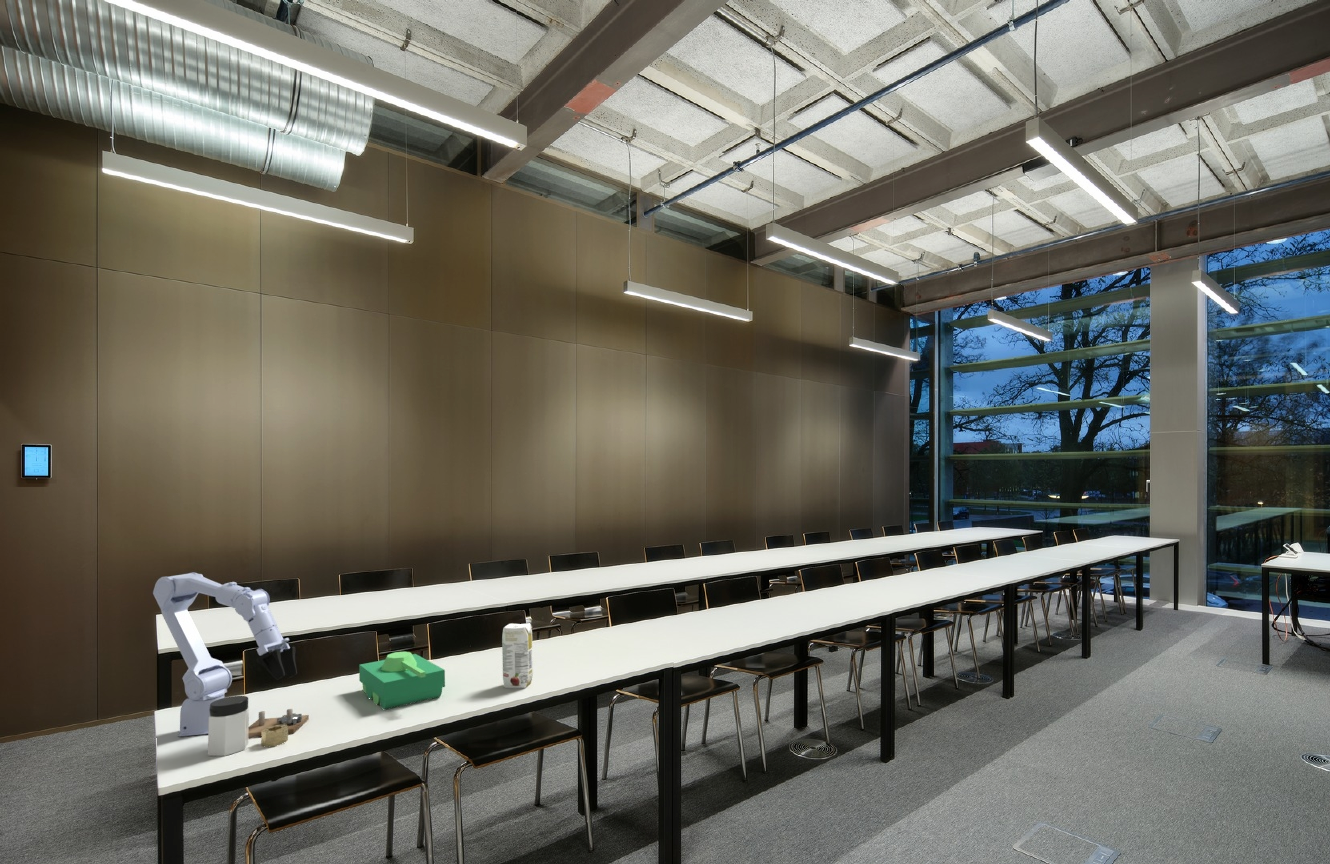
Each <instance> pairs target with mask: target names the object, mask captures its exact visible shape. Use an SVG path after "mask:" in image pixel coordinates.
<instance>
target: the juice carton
mask: <svg viewBox="0 0 1330 864" xmlns="http://www.w3.org/2000/svg"><path fill="white" fill-rule="evenodd" d="M501 643H502V647H501V648H502V651H501V652H502V655H501V656H502V682H503V687H504V689H526V688H527V687H528V686H529V685H531V683H532V681H533V674H534V671H533V670H534V667H533V665H534V663H533V662H534V661H533V659H534V658H533V630H532V624H531V623H530V622H529V623H528V622H527V623H521V624H520V623H508V624H507V625H505V626H504V627H503V629H502V637H501Z"/></svg>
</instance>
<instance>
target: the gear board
mask: <svg viewBox="0 0 1330 864" xmlns="http://www.w3.org/2000/svg"><path fill="white" fill-rule="evenodd" d="M293 711H294V710H293V708H288V709H287V710H286V715H287V718H291V717H293ZM265 714H266V711H265V710H263V711H262V710H261V711H259V712H258V719H257V720H256V721H255V722H253V723H252V724H251V725H249V732H248V739H252V738H262V737H261V736H262V730H264V729H265V728H267V727H271V726H274V725H277V718H280V717H281V716H279V717H270V718H265V717H266V715H265ZM309 717H310V716H309V714H305V715H302V722H299V723H297V724H296V725H290V726H288V735H294V734H295V733H297V731H298V730H300V728H301V727H302V726H304V725H305V723H307V722H308V721H309Z"/></svg>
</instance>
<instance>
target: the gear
mask: <svg viewBox="0 0 1330 864" xmlns="http://www.w3.org/2000/svg"><path fill="white" fill-rule="evenodd" d="M279 717H280V718H279ZM279 717H276V718H277V725H283V724H284V725H287V726H290V725H296V724H297V723H299V722H302V713H296V712H295V713H293V717H291V718H287V714H284V715H282V716H279Z"/></svg>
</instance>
